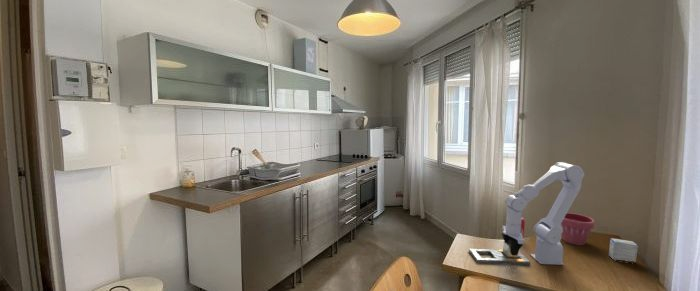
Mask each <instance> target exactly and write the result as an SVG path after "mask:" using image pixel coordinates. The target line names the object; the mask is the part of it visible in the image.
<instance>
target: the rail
mask: <svg viewBox="0 0 700 291" xmlns="http://www.w3.org/2000/svg"><path fill="white" fill-rule="evenodd" d="M468 253H469V254H470V255H471V256H472V258H473V259H474V260H475V262H476V264H493V265H494V264H495V265H514V266H516V265H517V266H519V265H520V266H530V265H531V261H530V260H529V259H528V258H526V256H525V255H523V254H522V253H521V252H520V251H519V252H518V259H507V258H506V257H505V256H504V255H503V249H489V248H485V249H484V248H469V249H468ZM480 255H490V256H491V257H482V256H480Z"/></svg>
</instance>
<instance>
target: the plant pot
mask: <svg viewBox="0 0 700 291" xmlns="http://www.w3.org/2000/svg"><path fill="white" fill-rule="evenodd" d="M561 227H562V229H563V232H562V234H561V239H562V240H563V241H564V242H566V243H569V244H571V245H575V246H576V245H577V246H584V245H586V242H587V239H588V238H589V236H590V234H591V232H592V231H591V230H593V229H595V220H594V219H593V218H592V217H589V216H587V215H583V214H579V213H574V212H567V214H566V215H565V217H564V219H563V221H562V223H561Z"/></svg>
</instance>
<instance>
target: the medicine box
mask: <svg viewBox="0 0 700 291" xmlns="http://www.w3.org/2000/svg"><path fill="white" fill-rule="evenodd" d="M609 239H610V241H609V249H608V250H609V251H608V257H609V256H610V257H611V258H612V259H614V260H613V261H616V260H625V261H634V262H637V255H638V249H639V245H637V243H635V242H634V241H632V240H625V239H619V238H612V237H611V238H609ZM610 257H609V258H610ZM611 258H610V259H611ZM612 259H611V260H612Z"/></svg>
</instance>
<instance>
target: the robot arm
mask: <svg viewBox="0 0 700 291" xmlns="http://www.w3.org/2000/svg"><path fill="white" fill-rule="evenodd" d="M584 177H585V172H584V170H583V169H582V167H581V166H579V165H576V164H570V163H568V162H564V161H559V162H556V163H554V165H552V166H550V168H549V170H548V171H547V172H546V173H545V174H543V175H542V176H541V177H540V178H538V179H537V180H536V181H535V182H533V183H532V184H527V185H526V184H524V185H523V186H522V188H520V190H519V191H517V192H514V194H510V195H508V196H507V197H506V199H505V200H504V203H505V206H506V220H505V225H502V233H501V236H502V238H503V242H504V241H509V242H510V245H511V254H512V255H517V254H518V252H520V249H521V248H522V246H523V245H524V244H525V239H524V237H523V238H522V235H521V220H522V217H523V210H526V207H527V205H528V203H530V201H532V200H534V199H536V198H537V197H538V196H539V194H540V191H541V190H543V189H544V188H546V187H547V186H549V185H550V184H552V183H553V182H556V181H561V183H562V185H563V186H562V188H561V190H560V192H559V193H558V195H557V197H556V198H555V200H554V203H553V204H552V207H551V208H550V210H549V212H548V213H547V215H546V216H545V217H543V218H541V219H540V220H539V221H538V222H537V223H535V225H534V227H533V232H534V234H535V235H536V240H535V251H534V252H535V253H530V256H531V257H532V258H533V259H534V260H536V261H537V262H538V263H539V264H541V265H557V266H558V265H559V266H564V263H563V255H564V247H563V245H562V243H561V240H562V232H563V229H562V227H561V223H562V221H563V219H564V217H565V215H566V214H567V213H569V210H570V208H571V206H572V205H573V203H574V201H575V199H576V197H577V196H578V194H579V193H580V190H581V188H582V180H583V179H584Z"/></svg>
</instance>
